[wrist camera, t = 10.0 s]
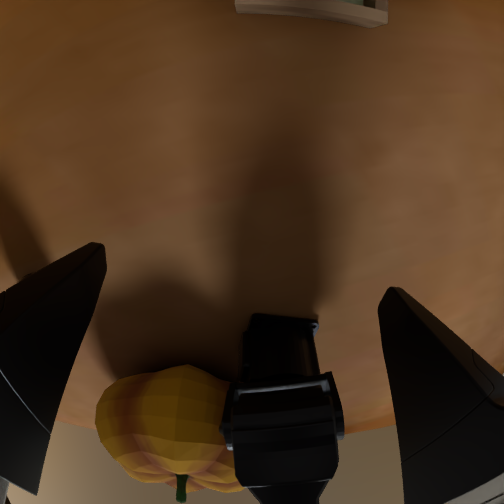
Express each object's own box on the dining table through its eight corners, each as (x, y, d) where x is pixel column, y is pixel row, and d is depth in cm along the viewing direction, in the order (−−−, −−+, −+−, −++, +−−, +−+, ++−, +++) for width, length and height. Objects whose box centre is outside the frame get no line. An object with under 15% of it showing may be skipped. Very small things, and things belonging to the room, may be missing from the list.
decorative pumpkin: (298, 409, 39) (307, 507, 26) (168, 430, 43) (158, 510, 31) (234, 321, 29) (228, 478, 16) (81, 361, 33) (46, 462, 21)
